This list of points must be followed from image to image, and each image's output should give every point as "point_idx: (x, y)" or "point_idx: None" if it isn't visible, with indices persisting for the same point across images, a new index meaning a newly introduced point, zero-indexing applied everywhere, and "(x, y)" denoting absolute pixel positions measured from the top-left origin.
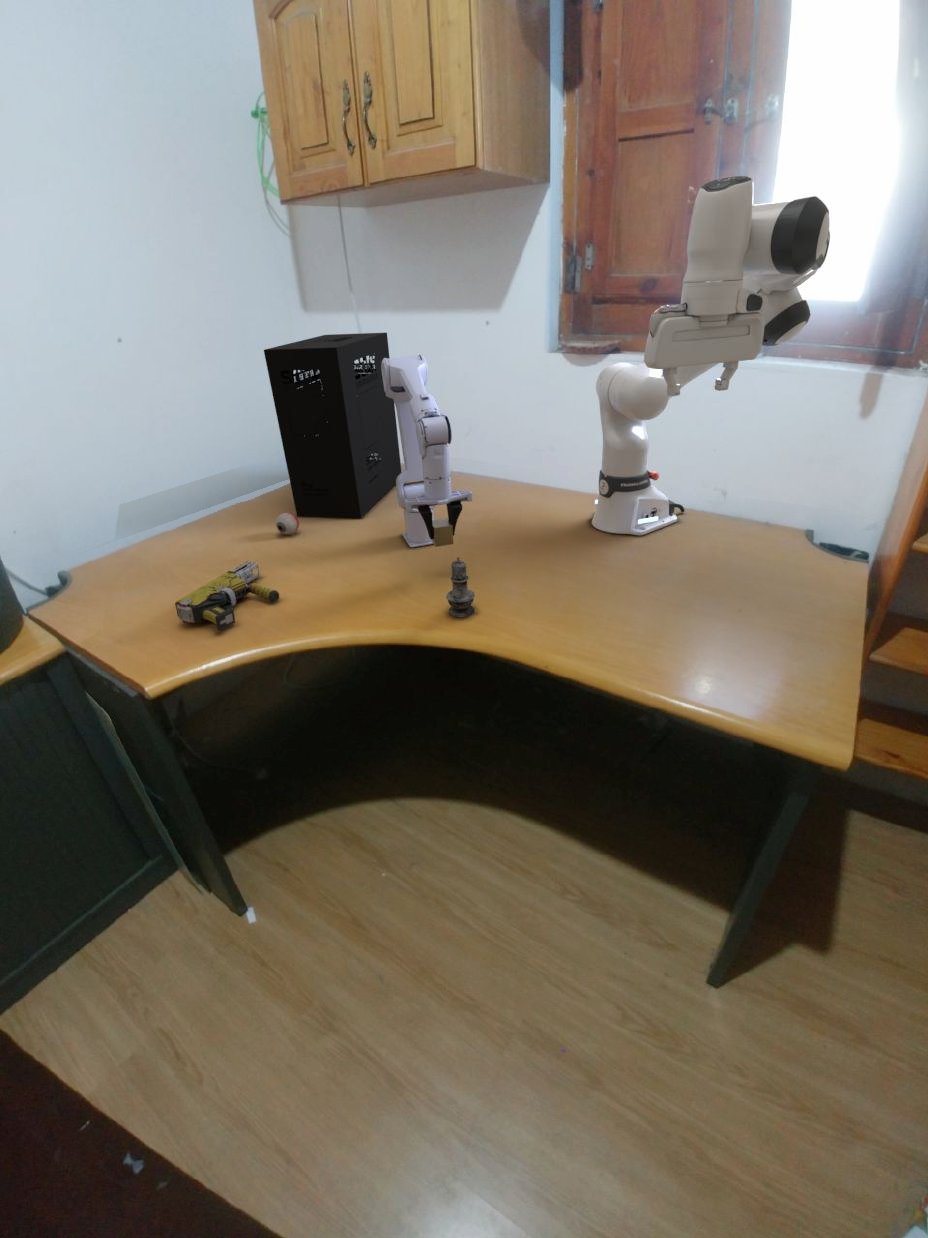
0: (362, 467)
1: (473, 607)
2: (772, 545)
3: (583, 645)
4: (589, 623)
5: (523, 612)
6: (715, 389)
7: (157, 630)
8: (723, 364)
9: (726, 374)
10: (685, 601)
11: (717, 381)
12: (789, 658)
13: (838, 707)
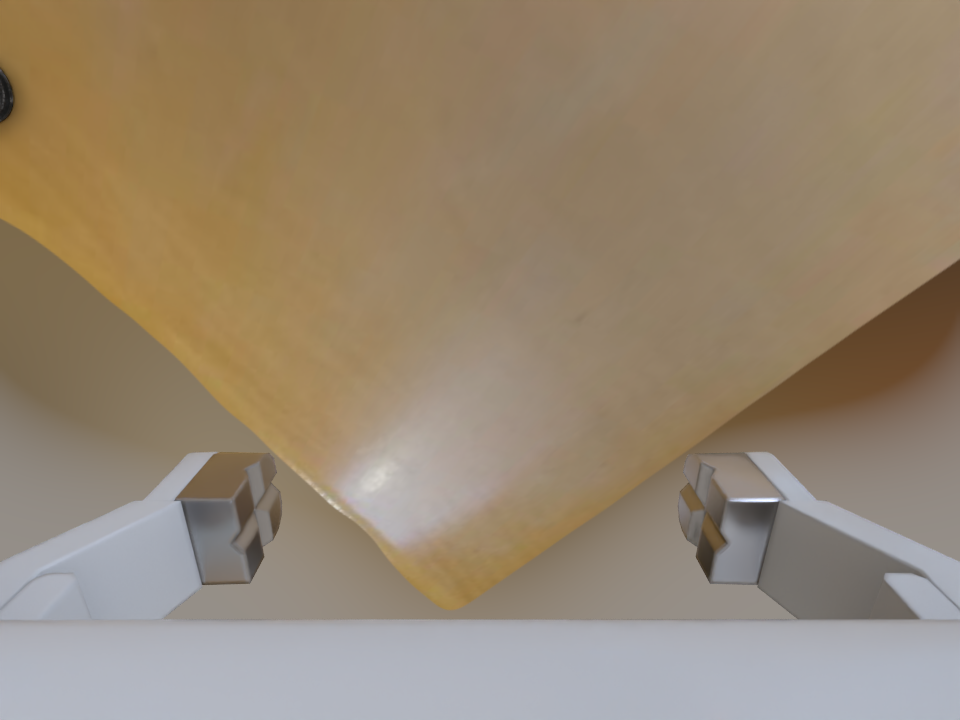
0: None
1: (9, 87)
2: (940, 40)
3: (233, 322)
4: (270, 253)
5: (136, 152)
6: (686, 459)
7: None
8: (898, 607)
9: (810, 586)
10: (506, 244)
11: (710, 515)
12: (542, 465)
13: (514, 561)
